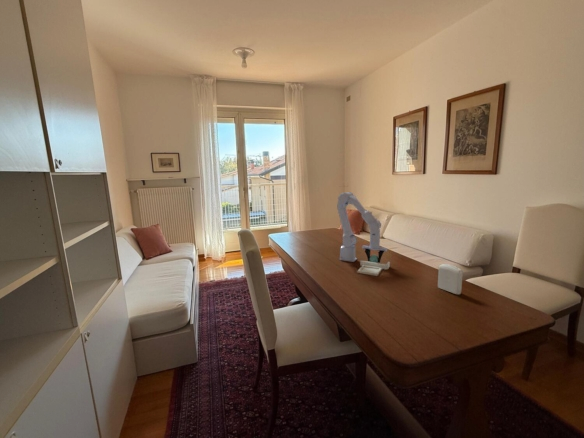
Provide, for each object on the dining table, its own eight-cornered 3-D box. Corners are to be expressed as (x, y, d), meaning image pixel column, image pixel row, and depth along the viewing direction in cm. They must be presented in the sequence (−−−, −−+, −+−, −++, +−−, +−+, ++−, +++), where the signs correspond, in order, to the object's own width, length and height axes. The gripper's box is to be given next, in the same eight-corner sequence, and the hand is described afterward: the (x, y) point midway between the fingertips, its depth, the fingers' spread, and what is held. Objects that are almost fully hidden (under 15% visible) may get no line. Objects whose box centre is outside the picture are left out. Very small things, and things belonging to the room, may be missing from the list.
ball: (368, 264, 162) (368, 255, 162) (370, 261, 167) (370, 253, 166) (377, 265, 160) (377, 256, 159) (379, 263, 164) (379, 254, 164)
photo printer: (435, 287, 127) (437, 262, 126) (441, 285, 129) (443, 261, 127) (456, 295, 118) (459, 269, 116) (462, 293, 120) (465, 267, 118)
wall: (360, 265, 160) (360, 260, 160) (362, 262, 165) (363, 258, 165) (387, 269, 152) (387, 264, 152) (389, 266, 157) (389, 262, 157)
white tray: (357, 272, 149) (357, 270, 148) (362, 266, 158) (362, 264, 158) (377, 276, 143) (377, 273, 143) (381, 269, 152) (381, 267, 152)
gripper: (361, 240, 161) (360, 261, 163) (385, 242, 154) (384, 265, 156) (364, 238, 167) (363, 258, 169) (388, 240, 160) (387, 261, 162)
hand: (374, 261), depth 163 cm, fingers closed on ball, 6 cm apart
